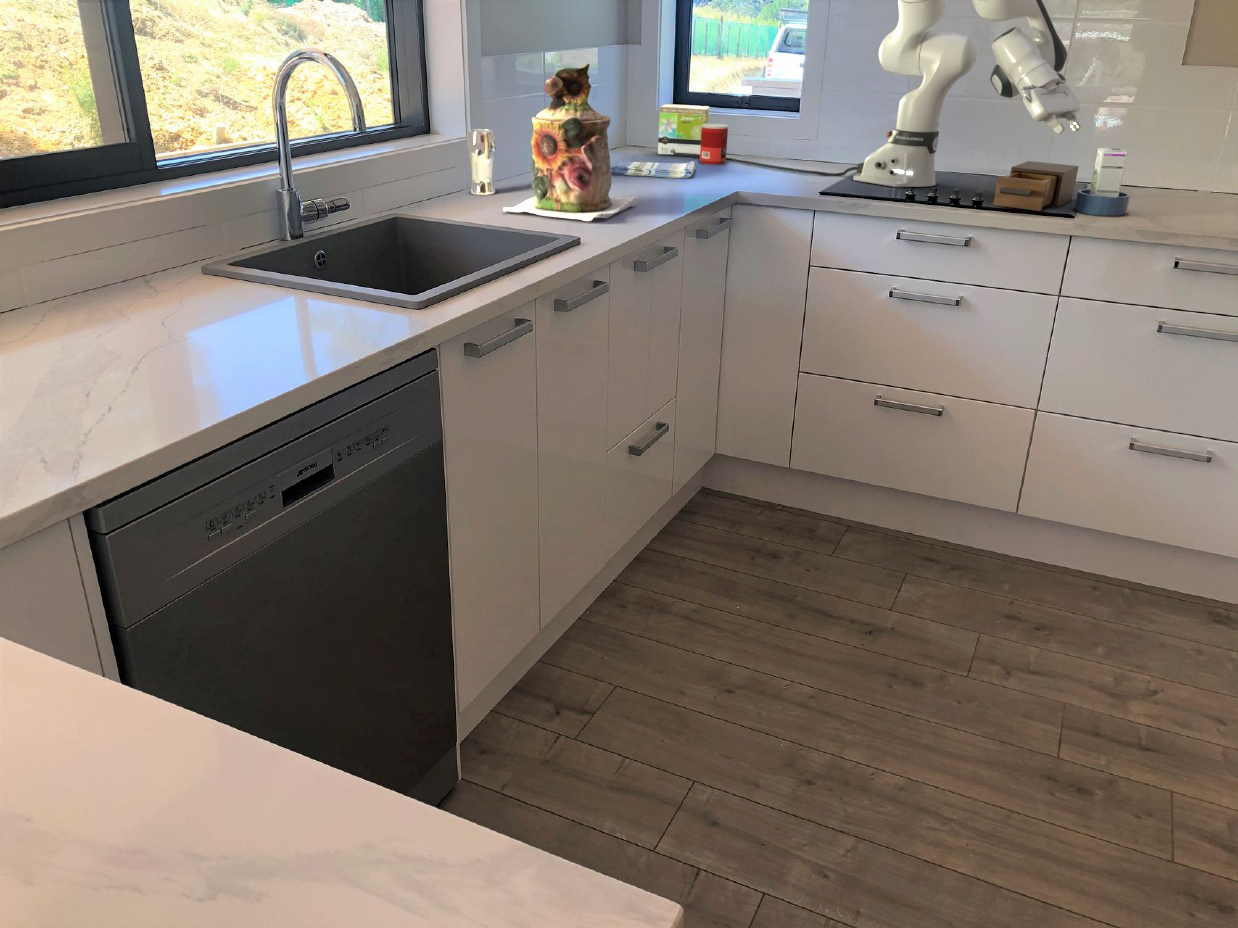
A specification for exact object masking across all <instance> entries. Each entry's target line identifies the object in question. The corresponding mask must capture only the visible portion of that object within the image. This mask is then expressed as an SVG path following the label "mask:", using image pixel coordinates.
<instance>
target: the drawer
mask: <svg viewBox="0 0 1238 928" xmlns="http://www.w3.org/2000/svg"><path fill="white" fill-rule="evenodd" d="M1057 181H1058V176H1054V175H1045V174H1035V173H1026V172H1015V173H1013V174H1010V173H1009V174H1008V175H1005V176H1003V175H999V176H997V181H996V186H995V192H994V197H993V199H994V200H993V203H992V205H993V206H997V207H1005V208H1014V209H1020V210H1022V209H1023V210H1029V211H1037V212H1042V211H1043V208H1044V206H1046V205H1048V204H1050V203H1052V202H1053V201H1054V196H1055V191H1056V186H1057Z"/></svg>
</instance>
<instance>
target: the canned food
mask: <svg viewBox="0 0 1238 928" xmlns="http://www.w3.org/2000/svg"><path fill="white" fill-rule="evenodd" d="M728 134H729V126H728V124H722V123H708V124H702V128H701V147H700V157H699V161H700V163H702V164H705V165H723V164H726V161H727V160H726V158H727V150H728V149H727V148H728V137H729V135H728Z"/></svg>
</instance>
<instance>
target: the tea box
mask: <svg viewBox="0 0 1238 928" xmlns="http://www.w3.org/2000/svg"><path fill="white" fill-rule="evenodd" d="M709 115H710V106H709V105H703V106H702V105H694V104H693V105H692V104H691V105H690V104H675V103H674V104H672V103H663V105H661V106H660V107H659V116H658V117H659V118H658V137H657V154H658V155H673V153H688V154H700V147H701V128H702V124H709ZM673 156H674V155H673Z"/></svg>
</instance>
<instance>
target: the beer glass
mask: <svg viewBox="0 0 1238 928" xmlns="http://www.w3.org/2000/svg"><path fill="white" fill-rule="evenodd" d="M495 132H496V131H495V130H494V129H490V128H489V129H487V128H474V129H472V128H471V129H468V130H467V157H468V162H469V167H470V171H471V189H470V190H471V191H470V192H471V194H472V195H478V196H487V195H488V196H489V195H494V194H496V187H495V182H494V181H495V180H494V172H495V165H496V157H497V156H496V155H497V141H496V133H495Z"/></svg>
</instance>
